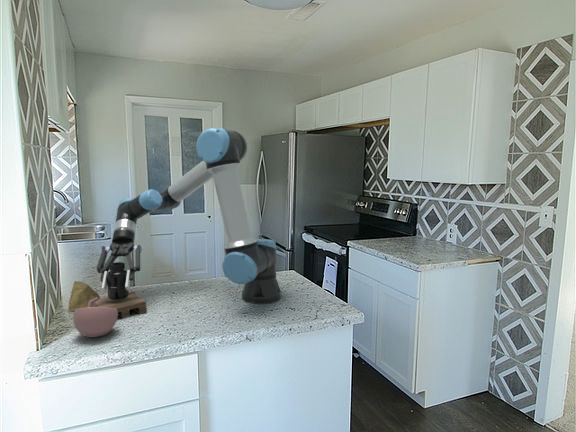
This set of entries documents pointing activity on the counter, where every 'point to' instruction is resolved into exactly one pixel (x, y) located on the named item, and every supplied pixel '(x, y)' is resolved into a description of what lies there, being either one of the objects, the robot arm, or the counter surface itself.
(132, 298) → the block
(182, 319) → the counter surface
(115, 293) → the supplement bottle
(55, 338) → the counter surface
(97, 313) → the mortar and pestle
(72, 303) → the rock
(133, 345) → the counter surface
